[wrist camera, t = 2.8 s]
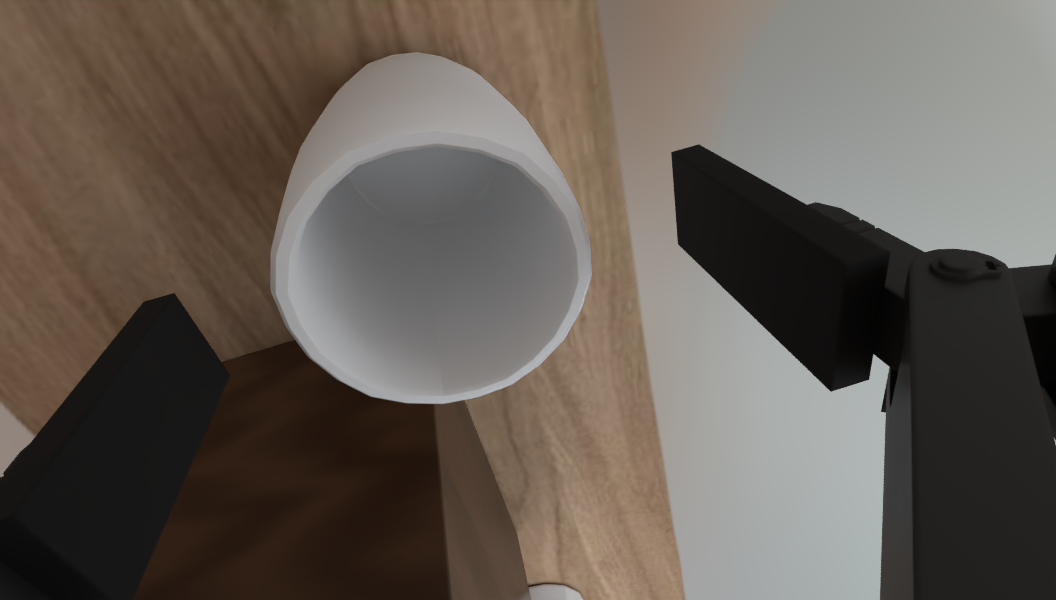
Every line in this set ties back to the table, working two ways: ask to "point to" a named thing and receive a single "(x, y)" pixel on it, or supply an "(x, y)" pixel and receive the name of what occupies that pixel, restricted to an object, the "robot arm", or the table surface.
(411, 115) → the cup
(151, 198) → the table surface
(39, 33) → the table surface
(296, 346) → the box
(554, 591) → the inkwell
